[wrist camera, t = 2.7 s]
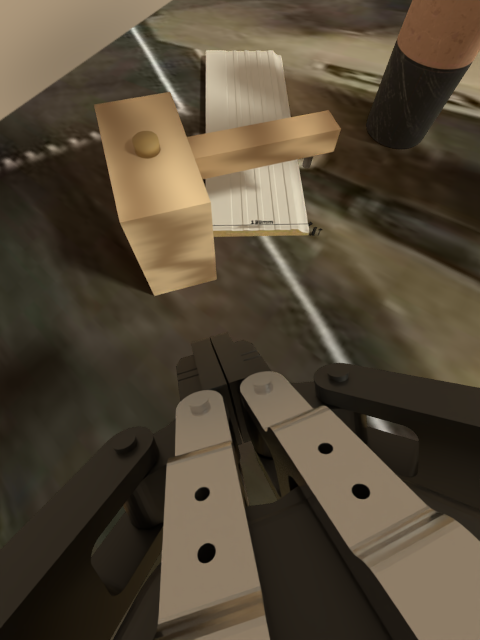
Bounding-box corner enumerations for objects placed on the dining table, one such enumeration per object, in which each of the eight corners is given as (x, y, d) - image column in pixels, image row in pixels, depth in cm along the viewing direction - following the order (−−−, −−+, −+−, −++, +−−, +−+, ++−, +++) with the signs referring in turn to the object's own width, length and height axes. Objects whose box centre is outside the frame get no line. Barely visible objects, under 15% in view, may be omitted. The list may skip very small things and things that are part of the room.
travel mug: (398, 160, 37) (562, -130, 19) (350, 125, 39) (455, -165, 21) (438, 133, 39) (621, -152, 21) (390, 101, 41) (518, -182, 23)
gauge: (287, 166, 36) (309, 58, 26) (330, 249, 32) (376, 156, 22) (131, 200, 34) (89, 94, 24) (154, 296, 29) (115, 213, 19)
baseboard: (290, 62, 45) (206, 62, 45) (294, 38, 43) (205, 38, 42) (321, 238, 33) (206, 241, 33) (329, 219, 30) (204, 221, 30)
